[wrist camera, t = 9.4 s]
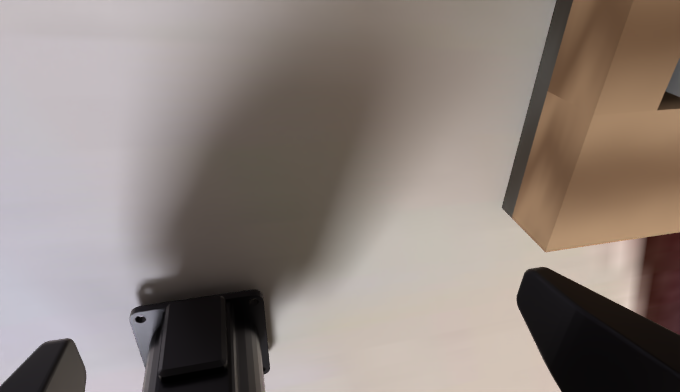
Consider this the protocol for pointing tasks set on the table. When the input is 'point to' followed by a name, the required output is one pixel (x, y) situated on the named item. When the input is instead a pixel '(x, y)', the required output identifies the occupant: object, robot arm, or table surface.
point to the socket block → (601, 127)
